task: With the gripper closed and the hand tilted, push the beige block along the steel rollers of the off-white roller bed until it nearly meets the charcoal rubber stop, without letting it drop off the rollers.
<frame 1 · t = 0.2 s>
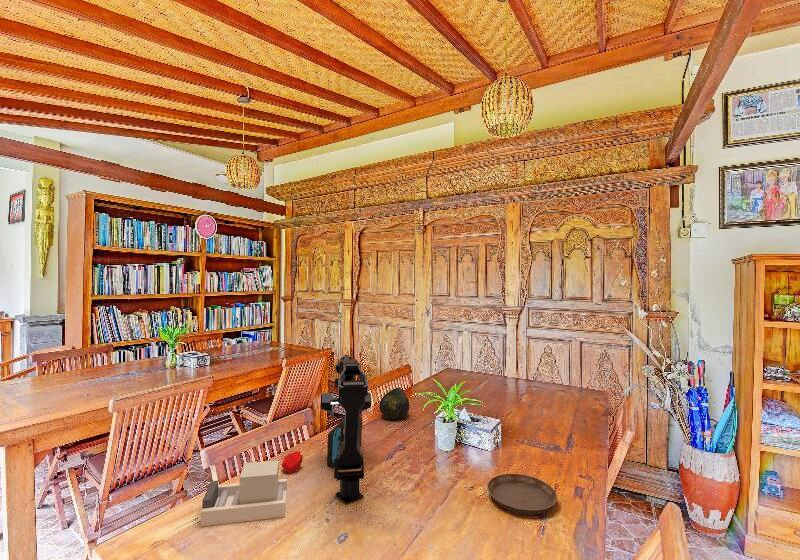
hand: (345, 415, 156), 15 cm above the table, tool tilted 30°, fingers open, 9 cm apart
squash: (394, 417, 199), on the table
rubber stop: (210, 511, 117), resting on roller bed
plant saucer: (521, 500, 126), on the table
roller bed: (247, 507, 119), on the table
beige block: (259, 495, 120), point 3 cm above the table, touching roller bed
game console: (345, 456, 155), on the table
apple: (292, 470, 143), on the table
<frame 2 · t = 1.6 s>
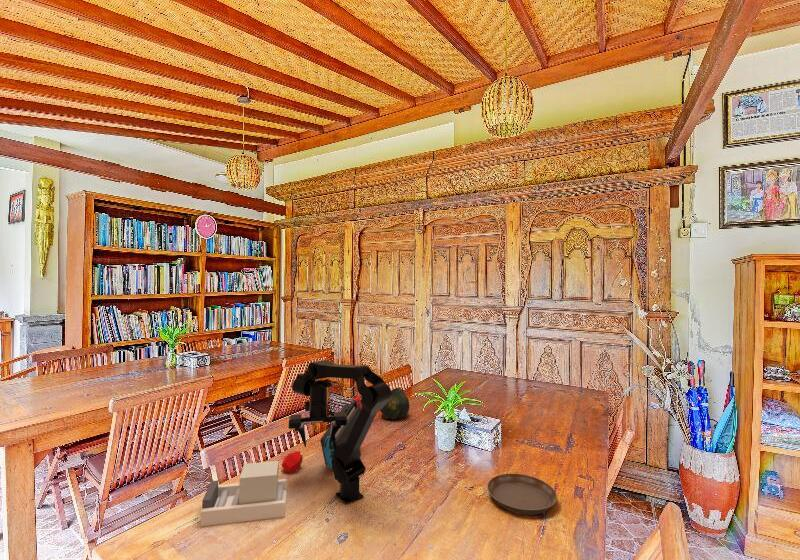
hand: (317, 445, 135), 12 cm above the table, tool pointing down, fingers open, 8 cm apart
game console: (346, 448, 154), point 3 cm above the table
everything else where it was.
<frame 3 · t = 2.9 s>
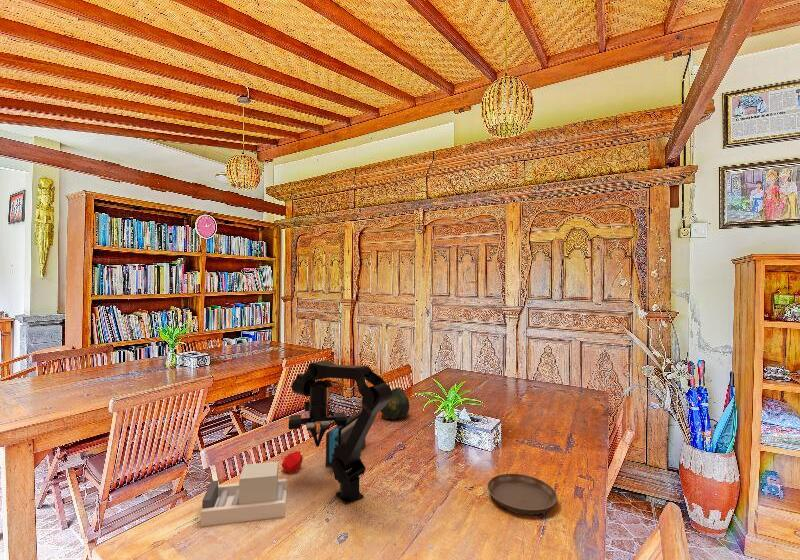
hand: (317, 446, 135), 12 cm above the table, tool pointing down, fingers closed
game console: (346, 457, 154), on the table
everything else where it was.
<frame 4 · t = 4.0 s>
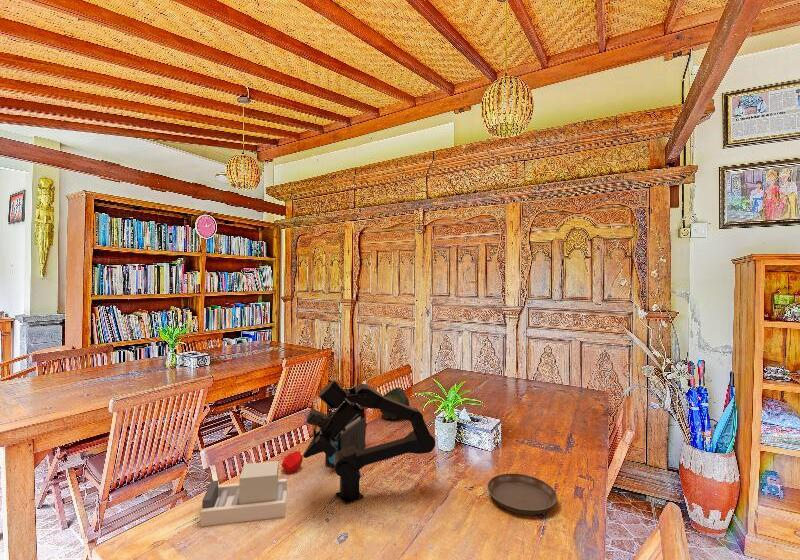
hand: (304, 456, 123), 14 cm above the table, tool tilted 45°, fingers closed
nothing on the table moved.
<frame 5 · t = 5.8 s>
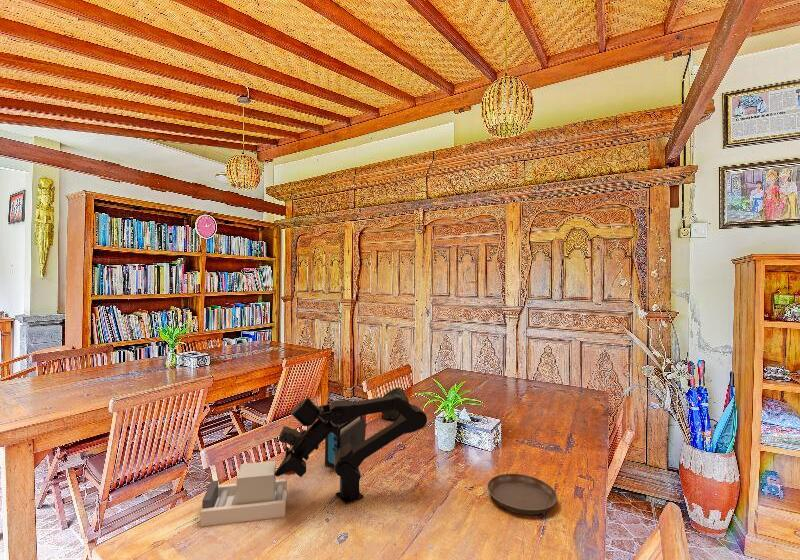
hand: (275, 475, 121), 9 cm above the table, tool tilted 45°, fingers closed
beige block: (256, 496, 120), point 3 cm above the table, touching gripper, roller bed
everything else where it was.
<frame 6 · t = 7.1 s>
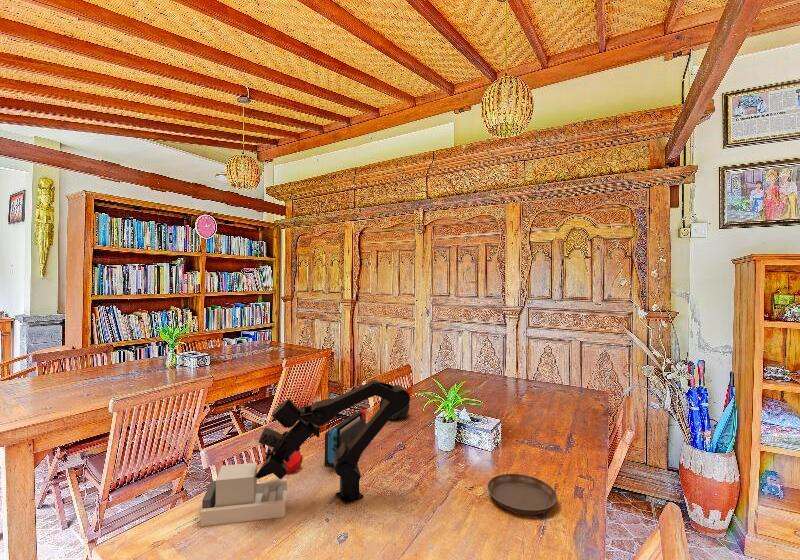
hand: (256, 477, 120), 9 cm above the table, tool tilted 45°, fingers closed
beige block: (237, 498, 118), point 3 cm above the table, touching gripper, roller bed
everything else where it was.
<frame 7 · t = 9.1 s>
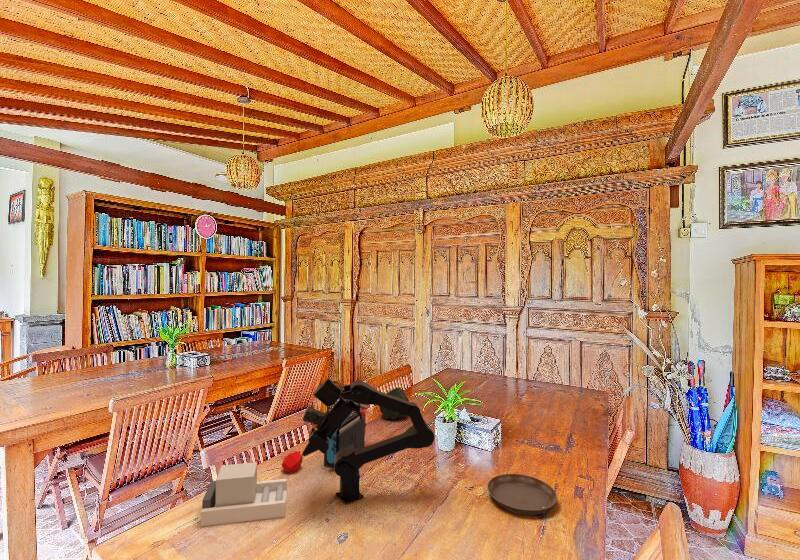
hand: (303, 455, 124), 14 cm above the table, tool tilted 40°, fingers closed
beige block: (237, 498, 118), point 3 cm above the table, touching roller bed
everything else where it was.
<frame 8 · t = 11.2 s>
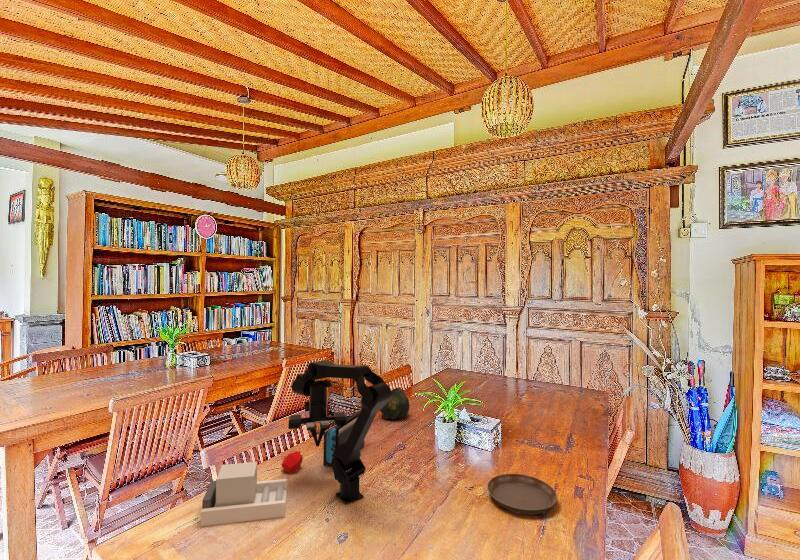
hand: (317, 445, 135), 12 cm above the table, tool pointing down, fingers closed
nothing on the table moved.
at the end: beige block 7.2 cm from the rubber stop (horizontally); beige block point 3.2 cm above the table; beige block tilted 0° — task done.
